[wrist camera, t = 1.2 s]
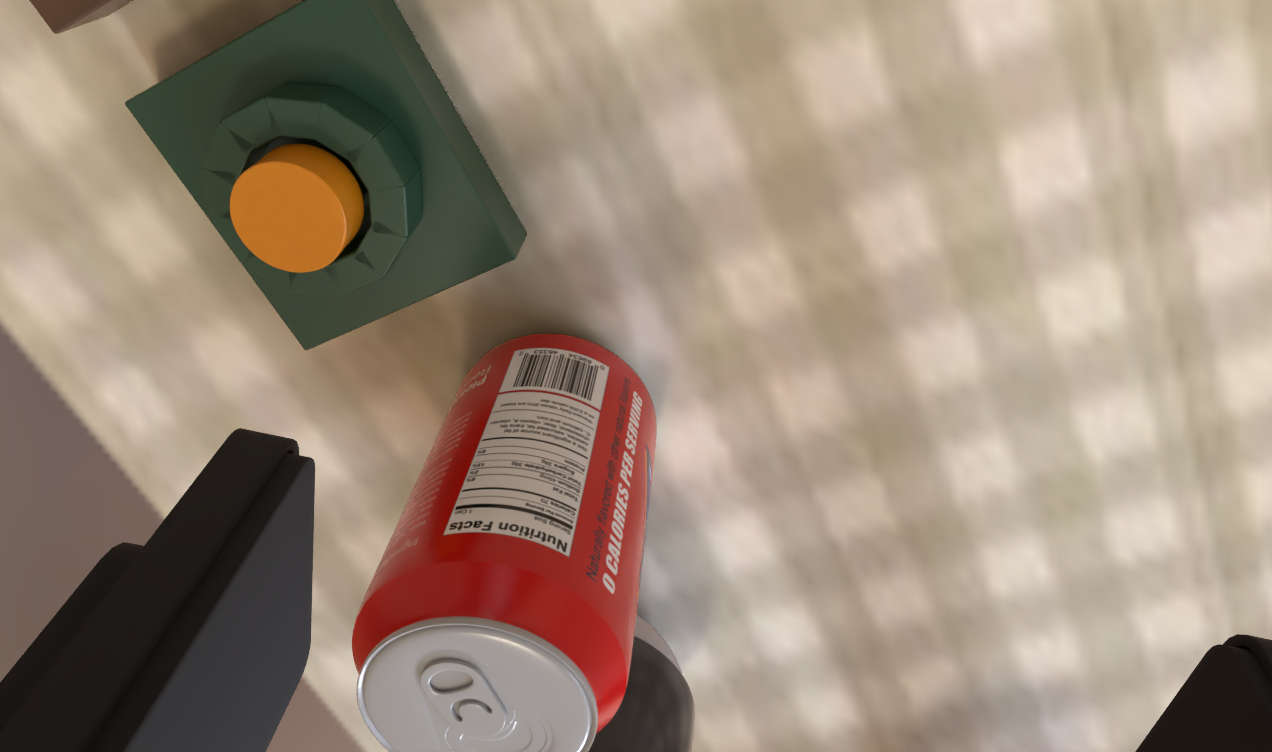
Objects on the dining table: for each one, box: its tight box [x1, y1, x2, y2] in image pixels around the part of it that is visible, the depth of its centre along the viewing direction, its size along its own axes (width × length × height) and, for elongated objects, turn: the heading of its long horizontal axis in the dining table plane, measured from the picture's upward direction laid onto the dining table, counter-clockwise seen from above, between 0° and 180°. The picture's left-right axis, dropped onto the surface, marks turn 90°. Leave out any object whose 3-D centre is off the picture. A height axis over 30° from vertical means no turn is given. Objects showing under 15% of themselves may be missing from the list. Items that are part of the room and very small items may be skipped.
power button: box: [230, 144, 364, 273], centre depth 30 cm, size 4×4×2 cm
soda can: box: [352, 334, 657, 752], centre depth 32 cm, size 8×8×15 cm
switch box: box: [125, 0, 527, 350], centre depth 33 cm, size 10×9×4 cm
